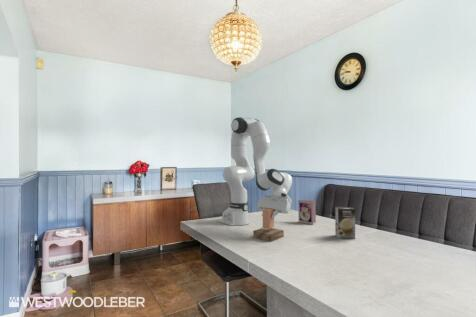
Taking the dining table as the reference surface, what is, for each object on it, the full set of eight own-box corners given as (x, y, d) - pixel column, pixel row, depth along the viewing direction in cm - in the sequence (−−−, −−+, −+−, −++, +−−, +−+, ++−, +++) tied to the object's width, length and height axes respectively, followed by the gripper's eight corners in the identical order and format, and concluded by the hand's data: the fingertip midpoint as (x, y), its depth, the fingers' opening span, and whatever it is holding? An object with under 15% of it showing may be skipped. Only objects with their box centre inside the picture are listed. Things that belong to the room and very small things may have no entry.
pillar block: (262, 227, 147) (262, 209, 147) (267, 225, 150) (267, 208, 150) (269, 228, 144) (269, 210, 144) (274, 227, 147) (273, 209, 147)
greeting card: (297, 222, 181) (297, 200, 181) (303, 220, 186) (303, 199, 186) (312, 225, 173) (312, 202, 173) (318, 223, 178) (318, 200, 178)
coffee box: (338, 238, 144) (338, 208, 144) (335, 235, 150) (334, 206, 150) (355, 238, 143) (355, 209, 143) (351, 235, 149) (351, 206, 149)
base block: (253, 238, 146) (253, 230, 146) (266, 233, 155) (266, 226, 155) (271, 242, 138) (271, 234, 138) (283, 237, 147) (283, 230, 147)
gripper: (260, 192, 159) (250, 210, 152) (290, 195, 145) (280, 215, 138) (265, 198, 162) (255, 217, 155) (294, 202, 149) (285, 222, 141)
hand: (267, 216), depth 146 cm, fingers closed on pillar block, 4 cm apart
